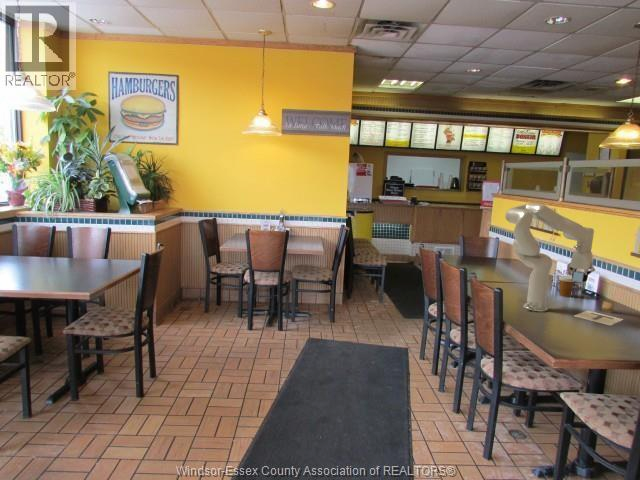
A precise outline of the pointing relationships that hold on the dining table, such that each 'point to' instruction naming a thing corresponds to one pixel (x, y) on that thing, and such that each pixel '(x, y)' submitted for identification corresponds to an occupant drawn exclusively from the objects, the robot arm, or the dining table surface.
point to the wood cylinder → (608, 306)
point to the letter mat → (598, 317)
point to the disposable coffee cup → (566, 285)
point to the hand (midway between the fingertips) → (579, 280)
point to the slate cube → (578, 276)
